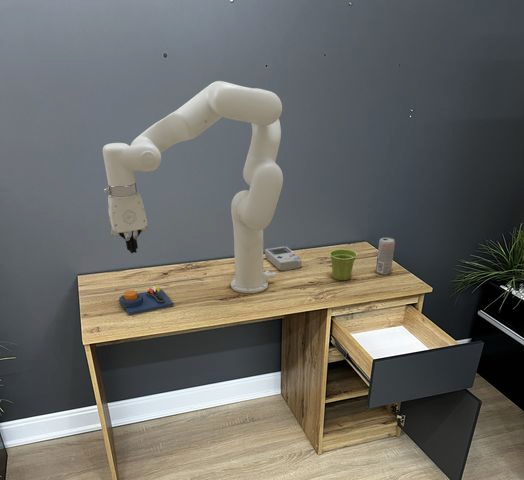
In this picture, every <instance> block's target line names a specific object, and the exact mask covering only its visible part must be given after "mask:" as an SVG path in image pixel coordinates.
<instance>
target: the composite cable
mask: <svg viewBox="0 0 524 480" xmlns="http://www.w3.org/2000/svg"><path fill="white" fill-rule="evenodd" d="M160 289H161V287H160V286H156V285H155V284H154V285H153V286H152V287H148V289H147V291H146V292H147V293H146V294H147V295H148V296H151V297H154V298H155V299H156V301H157V302H158V303H164V302H165V300H164V298H163V297H160V296H158V293H159V291H160ZM158 299H159V300H158ZM160 300H162V301H160Z"/></svg>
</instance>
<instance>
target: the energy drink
mask: <svg viewBox="0 0 524 480" xmlns="http://www.w3.org/2000/svg"><path fill="white" fill-rule="evenodd" d="M395 245H396V241H395V239H394V238H393V237H381V238H379V241H378V247H377V256H376V265H375V273H376V274H379V275H383V276H384V275H385V276H386V275H390V274H391V273H392V267H393V259H394V252H395Z"/></svg>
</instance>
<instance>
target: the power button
mask: <svg viewBox="0 0 524 480" xmlns="http://www.w3.org/2000/svg"><path fill="white" fill-rule="evenodd" d="M137 293H138V292H137V291H136V290H131V289H130V290H126V291H124V292H123V295H124V299H125V300H126V301H133V300H136V299H137V298H138V297H137Z"/></svg>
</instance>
